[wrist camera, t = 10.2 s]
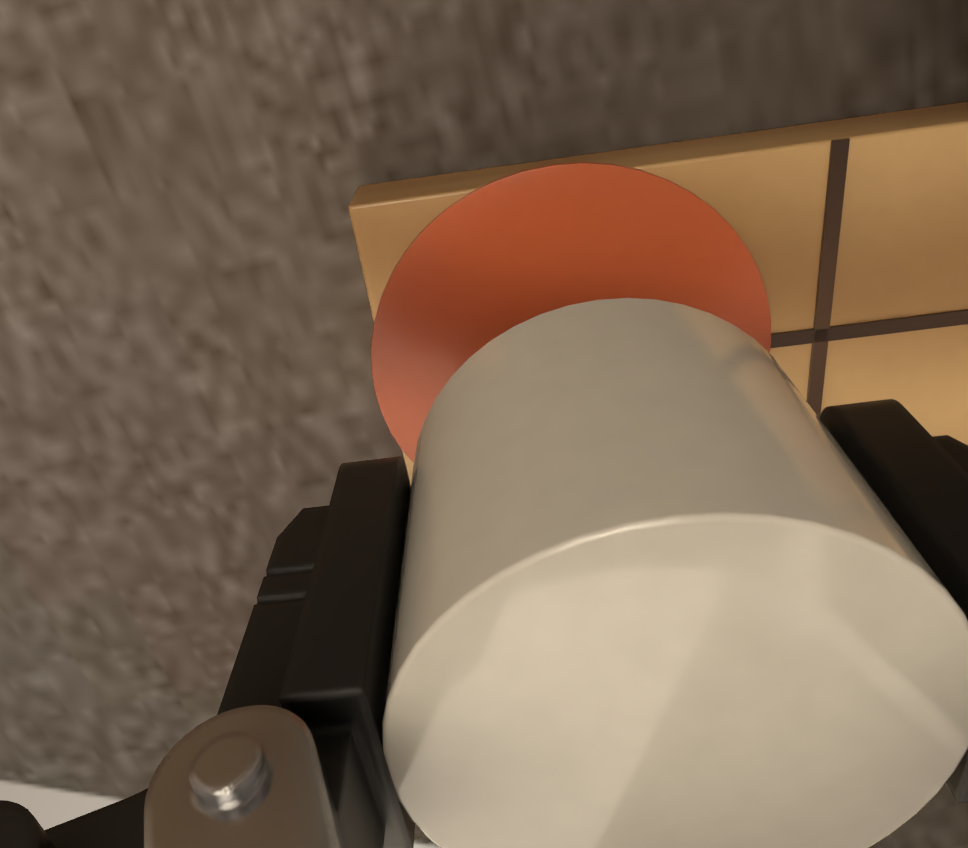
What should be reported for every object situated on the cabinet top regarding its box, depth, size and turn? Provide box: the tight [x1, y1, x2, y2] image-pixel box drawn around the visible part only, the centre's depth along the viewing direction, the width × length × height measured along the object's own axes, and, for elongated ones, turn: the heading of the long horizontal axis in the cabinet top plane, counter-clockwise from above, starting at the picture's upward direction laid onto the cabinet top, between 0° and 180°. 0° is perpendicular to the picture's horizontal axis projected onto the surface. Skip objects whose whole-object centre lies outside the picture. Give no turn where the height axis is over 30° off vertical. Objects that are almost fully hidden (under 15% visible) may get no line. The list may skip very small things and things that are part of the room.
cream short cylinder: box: [382, 298, 968, 848], centre depth 8 cm, size 5×5×4 cm
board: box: [349, 102, 968, 485], centre depth 15 cm, size 14×14×1 cm
